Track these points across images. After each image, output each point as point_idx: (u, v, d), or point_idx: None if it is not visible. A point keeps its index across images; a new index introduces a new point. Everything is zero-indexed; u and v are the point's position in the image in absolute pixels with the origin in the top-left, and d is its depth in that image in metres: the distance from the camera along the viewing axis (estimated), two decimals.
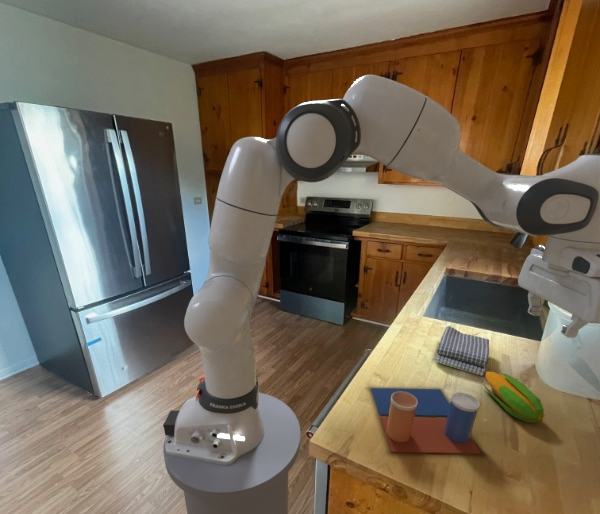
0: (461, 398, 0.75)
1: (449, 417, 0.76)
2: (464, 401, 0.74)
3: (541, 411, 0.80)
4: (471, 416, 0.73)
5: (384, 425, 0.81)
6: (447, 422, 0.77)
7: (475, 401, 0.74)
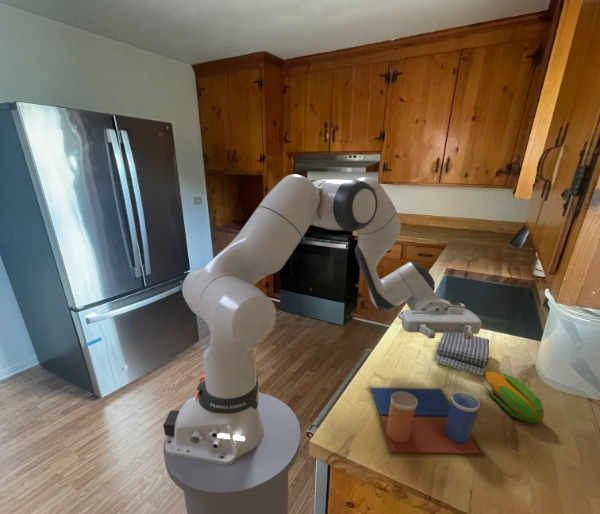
0: (461, 398, 0.75)
1: (449, 417, 0.76)
2: (464, 401, 0.74)
3: (541, 411, 0.80)
4: (471, 416, 0.73)
5: (384, 425, 0.81)
6: (447, 422, 0.77)
7: (475, 401, 0.74)
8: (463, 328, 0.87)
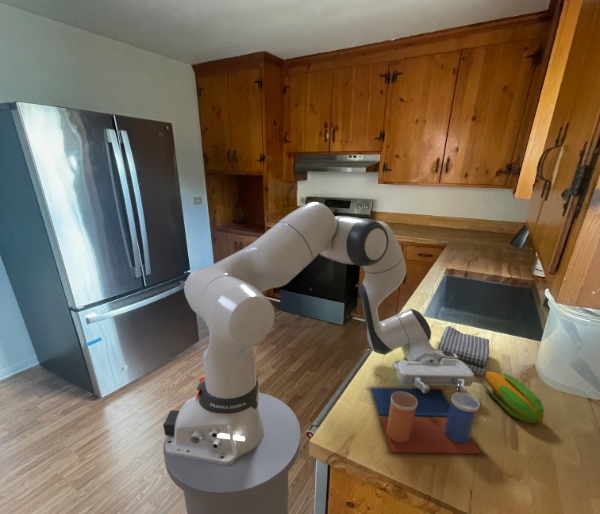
0: (461, 398, 0.75)
1: (449, 417, 0.76)
2: (464, 401, 0.74)
3: (541, 411, 0.80)
4: (471, 416, 0.73)
5: (384, 425, 0.81)
6: (447, 422, 0.77)
7: (475, 401, 0.74)
8: (456, 381, 0.89)
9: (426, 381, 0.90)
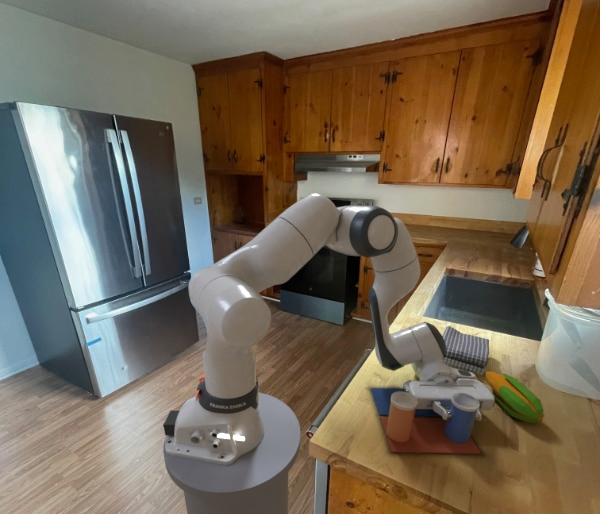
0: (461, 398, 0.75)
1: None
2: (464, 401, 0.74)
3: (541, 411, 0.80)
4: (471, 416, 0.73)
5: (384, 425, 0.81)
6: (447, 422, 0.77)
7: (475, 401, 0.74)
8: None
9: (441, 405, 0.81)
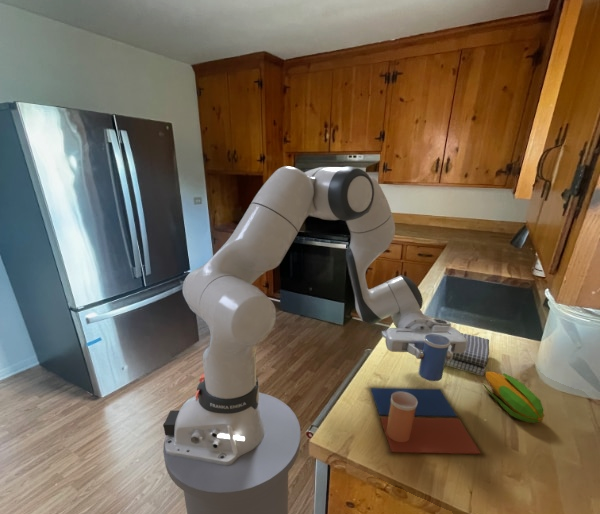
0: (433, 337, 0.79)
1: None
2: (436, 340, 0.78)
3: (541, 411, 0.80)
4: (442, 353, 0.77)
5: (384, 425, 0.81)
6: (420, 362, 0.81)
7: (447, 340, 0.78)
8: None
9: (416, 348, 0.84)
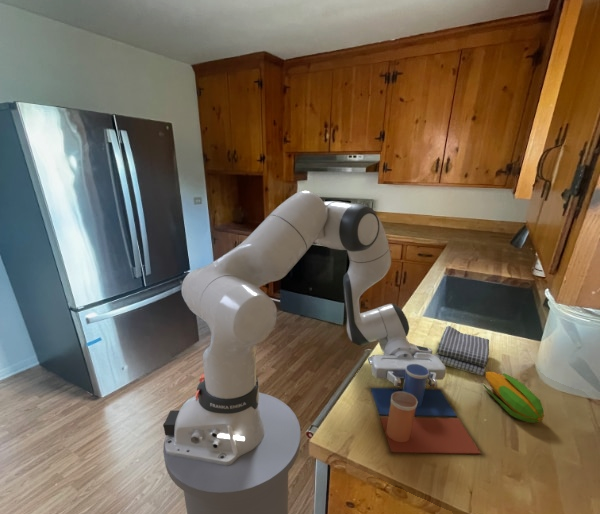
0: (414, 368, 0.86)
1: (404, 385, 0.87)
2: (416, 370, 0.85)
3: (541, 411, 0.80)
4: (421, 383, 0.84)
5: (384, 425, 0.81)
6: (403, 390, 0.88)
7: (426, 370, 0.85)
8: None
9: (399, 375, 0.92)
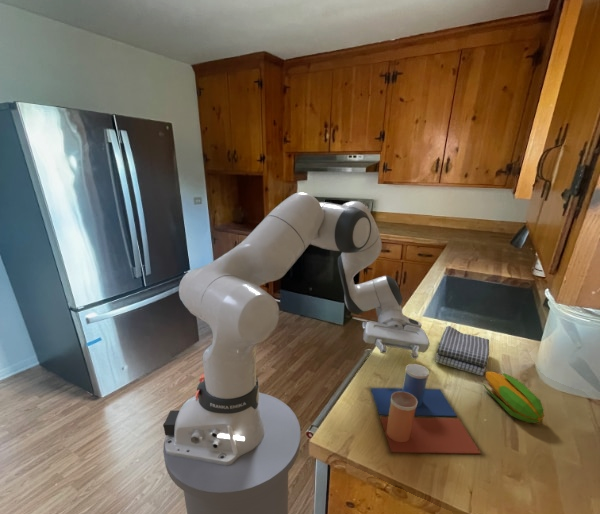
0: (414, 368, 0.86)
1: (404, 385, 0.87)
2: (416, 370, 0.85)
3: (541, 411, 0.80)
4: (421, 383, 0.84)
5: (384, 425, 0.81)
6: (403, 390, 0.88)
7: (426, 370, 0.85)
8: (413, 347, 1.01)
9: (387, 343, 1.02)
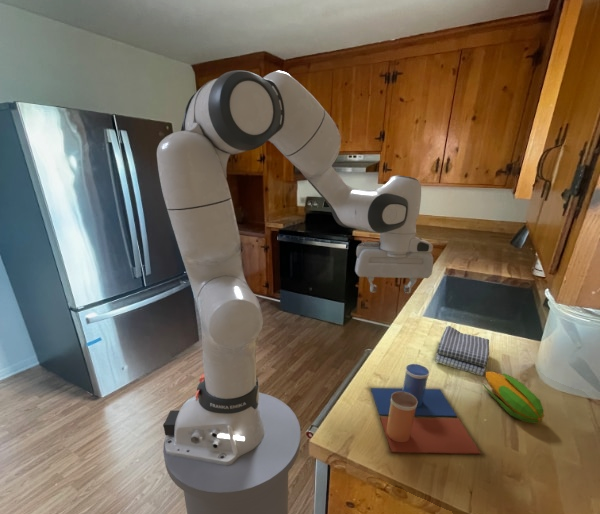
0: (414, 368, 0.86)
1: (404, 385, 0.87)
2: (416, 370, 0.85)
3: (541, 411, 0.80)
4: (421, 383, 0.84)
5: (384, 425, 0.81)
6: (403, 390, 0.88)
7: (426, 370, 0.85)
8: None
9: None
